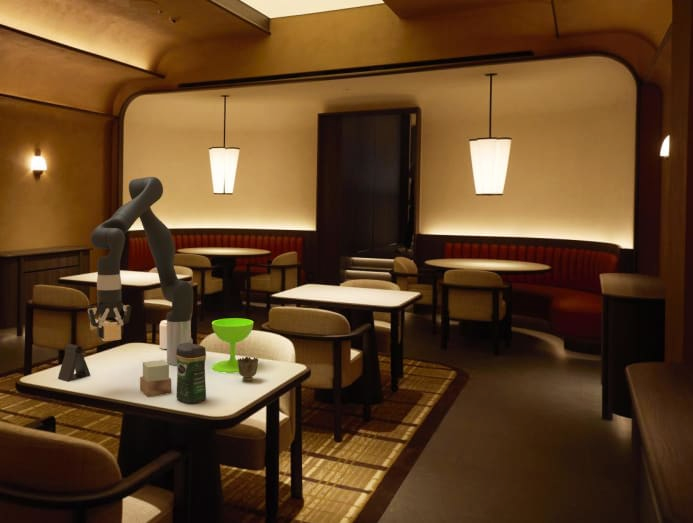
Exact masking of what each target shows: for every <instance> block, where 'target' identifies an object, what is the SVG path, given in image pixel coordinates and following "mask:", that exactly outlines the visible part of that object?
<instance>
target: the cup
mask: <svg viewBox="0 0 693 523" xmlns="http://www.w3.org/2000/svg"><path fill="white" fill-rule="evenodd" d="M237 360H238V368H239V375H240V376H241V377H242V380H243V382H246V381H249V382H252V381H253V380H254V376H256V374H257V371H258V366H259V358H258V357H255V356H254V357H253V358H251V357H250V356H249V357H248V356H245V357H239V358H238V359H237Z"/></svg>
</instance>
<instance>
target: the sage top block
mask: <svg viewBox="0 0 693 523" xmlns="http://www.w3.org/2000/svg"><path fill="white" fill-rule="evenodd" d="M142 376H143V377H144V379H145V380H146V381H147V382H153V381H160V380H168V379H169V378H170V364H168V363H167V361H165V360H164V359H160V360H152V361H143V362H142Z"/></svg>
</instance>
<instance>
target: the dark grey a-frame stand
mask: <svg viewBox="0 0 693 523" xmlns="http://www.w3.org/2000/svg"><path fill="white" fill-rule="evenodd" d="M83 350H84V349H83V347H82V346H81V345H78V344H73V343H67V344H65V346H64V351H65V352H64V355H63V356H64V357H63V359H62V363H61V366H60V370H59V373H58V375H57V379H58V380H61V381H65V382H69V383H70V382H73V381H77V380H80V379H84V378H85V379H86V378H88V377H91V373H90V369H89V368H88V365H87V362H86V360H85V359H86V358H85V356H84V353H83Z"/></svg>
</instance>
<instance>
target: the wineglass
mask: <svg viewBox="0 0 693 523" xmlns="http://www.w3.org/2000/svg"><path fill="white" fill-rule="evenodd" d="M211 326H212V330H213V333H214V334H215V335H216V336H217V337H218V339H220V340H221V341H222V342H225V343H229V344H230V345H229V347H230V350H229V354H230V355H229V356H230V357H229V359H228V360H226V359H225V360H221V361H218V362H215V363H214V364H213V365H212V368H211V370H212V371H214V370H215V371H214V372H216V371H218V372H217V373H221V372H226V373H225V374H234V373H233V372H239V368H238V359H237V358H236V344H237V343H239V342H242V341H244V340H245V339H246V338H248V337H249V335H250V334H251V332H252V330H253V328H254V321H253V320H251V319H247V318H239V317H238V318H237V317H234V318H221V319H217V320H213V321H212V322H211Z"/></svg>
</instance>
